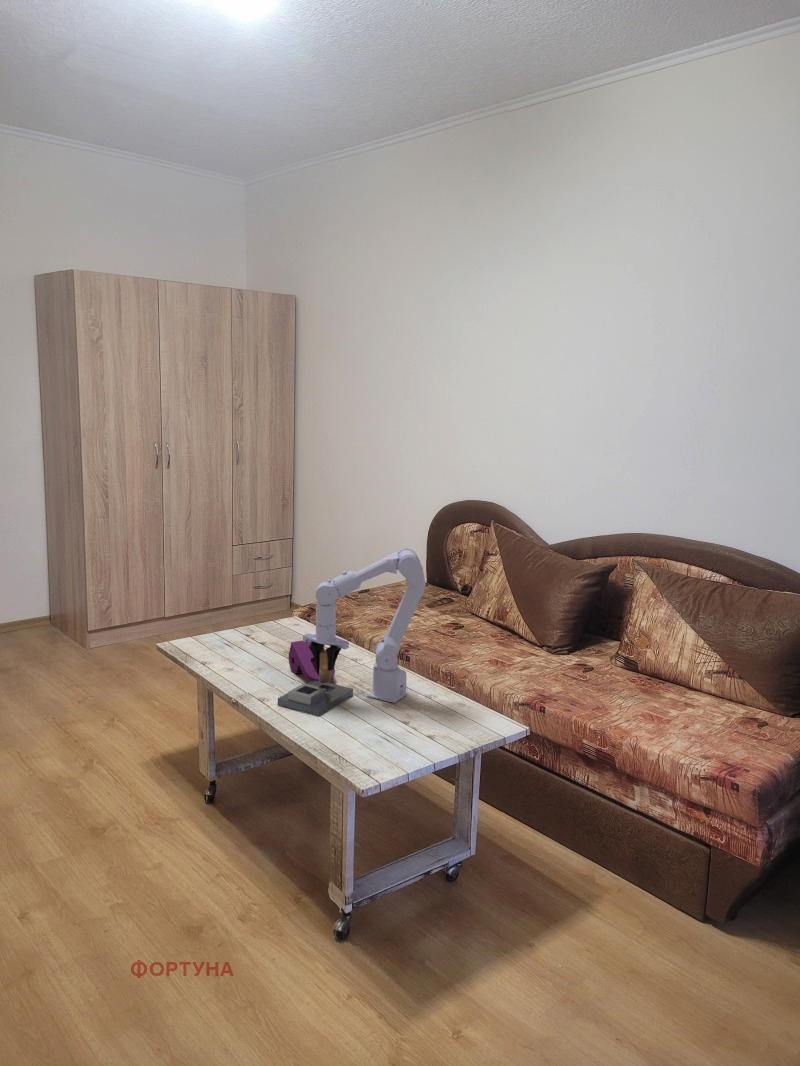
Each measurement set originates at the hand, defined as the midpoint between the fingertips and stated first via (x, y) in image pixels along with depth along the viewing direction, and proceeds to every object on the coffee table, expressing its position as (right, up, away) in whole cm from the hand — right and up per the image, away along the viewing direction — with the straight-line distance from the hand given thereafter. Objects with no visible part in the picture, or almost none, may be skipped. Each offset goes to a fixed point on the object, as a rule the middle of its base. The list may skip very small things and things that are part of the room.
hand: (325, 668), depth 235 cm
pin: (0, -4, +1) cm, 4 cm away
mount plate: (-2, -9, -2) cm, 9 cm away
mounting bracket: (-5, -5, +17) cm, 18 cm away
